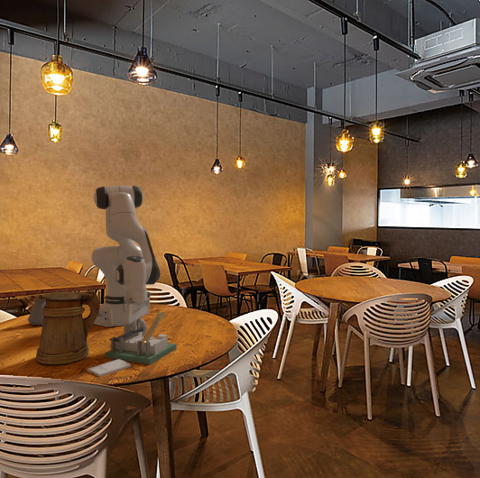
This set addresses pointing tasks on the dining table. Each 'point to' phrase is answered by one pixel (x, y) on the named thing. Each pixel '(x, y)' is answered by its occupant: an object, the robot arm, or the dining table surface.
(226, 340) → the dining table surface
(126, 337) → the dark grey long bar
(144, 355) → the board
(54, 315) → the tankard
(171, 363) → the dining table surface
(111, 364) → the external hard drive
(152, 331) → the strap brass
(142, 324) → the donut
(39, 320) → the coffee pot
